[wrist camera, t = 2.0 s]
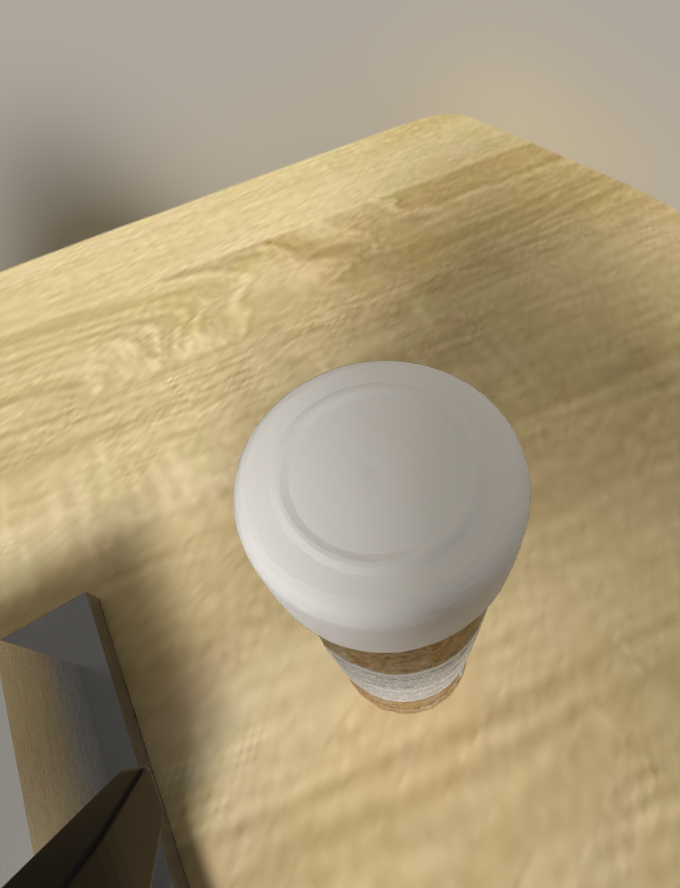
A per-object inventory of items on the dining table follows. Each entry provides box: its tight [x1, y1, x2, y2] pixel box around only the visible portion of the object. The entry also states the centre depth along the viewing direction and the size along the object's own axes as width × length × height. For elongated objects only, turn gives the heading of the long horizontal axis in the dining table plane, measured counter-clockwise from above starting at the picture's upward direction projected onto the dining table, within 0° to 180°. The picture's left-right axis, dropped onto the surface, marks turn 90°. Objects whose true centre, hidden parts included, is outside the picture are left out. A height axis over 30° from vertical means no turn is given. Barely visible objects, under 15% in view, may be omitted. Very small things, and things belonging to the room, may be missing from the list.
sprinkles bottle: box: [234, 361, 531, 714], centre depth 14 cm, size 5×5×13 cm
